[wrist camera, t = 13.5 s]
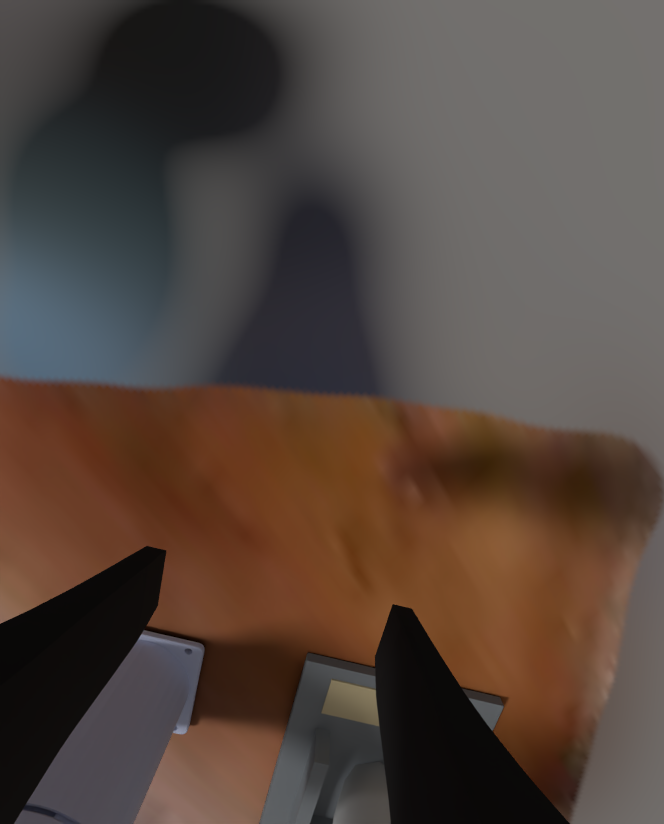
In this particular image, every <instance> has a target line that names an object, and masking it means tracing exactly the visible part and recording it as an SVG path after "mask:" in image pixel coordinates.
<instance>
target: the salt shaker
mask: <svg viewBox="0 0 664 824" xmlns="http://www.w3.org/2000/svg"><path fill="white" fill-rule="evenodd" d="M333 824H391V820H390V809H389V799H388V791H387V783H386V775H385V767H384V764H382V763H381V762H374V763H366V764H358V765H355V766H354V768H353V769H352V770H351V772H350V773H349V775H348V776H347V778H346V779H345V780H344V783H343V786H342V790H341V793H340V796H339V800H338V803H337V806H336V810H335V813H334V817H333Z"/></svg>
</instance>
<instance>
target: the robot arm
mask: <svg viewBox="0 0 664 824" xmlns="http://www.w3.org/2000/svg"><path fill="white" fill-rule="evenodd" d="M165 556H166V550H162V549H157V548H153V547H149V546H146V547H144V548H143V549H141V550H139V551H137V552H135V553H134V554H132V555H130V556H128V557H127V558H125V559H123V560H121V561H120V562H118V563H116V564H115V565H113V566H111V567H109V568H108V569H106V570H104V571H102V572H101V573H99V574H97V575H95V576H93V577H92V578H90V579H88V580H86V581H84V582H83V583H81V584H79V585H77V586H75V587H74V588H72V589H70V590H68V591H66V592H64V593H62V594H60V595H58V596H56V597H54V598H52V599H50V600H48V601H47V602H45V603H43V604H41V605H39V606H37V607H35V608H33V609H31V610H29V611H27V612H25V613H23V614H20V615H18V616H16V617H14V618H12V619H10V620H8V621H5V622H3V623H1V624H0V824H133V823H134V821H135V819H136V816H137V814H138V812H139V810H140V807H141V805H142V803H143V800H144V798H145V796H146V793H147V791H148V789H149V786H150V784H151V782H152V779H153V777H154V775H155V773H156V770H157V768H158V766H159V763H160V761H161V759H162V756H163V754H164V752H165V749H166V747H167V745H168V742H169V740H170V738H171V736H172V733H177V734H185V733H186V732H187V731H188V728H189V726H190V721H191V716H192V711H193V706H194V701H195V696H196V691H197V686H198V681H199V676H200V671H201V666H202V661H203V656H204V651H205V648H204V646H203V645H202V644H201V643H198V642H193V641H189V640H185V639H180V638H176V637H172V636H167V635H163V634H159V633H154V632H150V631H146V630H144V629H145V627H146V625H147V624H148V622H149V620H150V618H151V617H152V615H153V613H154V611H155V610H156V608H157V606H158V600H159V594H160V588H161V581H162V575H163V569H164V562H165ZM188 648H189V649H188ZM375 682H376V701H377V710H378V718H379V727H380V735H381V743H382V751H383V759H384V767H385V775H386V783H387V791H388V799H389V809H390V820H391V824H570V823H569V822H568V821H567V820H566V819H565V818H564V817H563V816H562V815H561V813H560V812H559V811H558V810H557V809H556V808H555V807H554V805H553V804H552V803H551V802H550V801H549V800H548V799H547V797H546V796H545V795H544V794H543V793H542V792H541V791H540V789H539V788H538V787H537V786H536V785H535V784H534V782H533V781H532V780H531V779H530V778H529V777H528V775H527V774H526V773H525V772H524V771H523V769H522V768H521V767H520V766H519V764H518V763H517V762H516V761H515V759H514V758H513V757H512V756H511V754H510V753H509V752H508V751H507V749H506V748H505V747H504V746H503V744H502V743H501V742H500V740H499V739H498V738H497V737H496V735H495V734H494V733H493V731H492V730H491V729H490V727H489V726H488V725H487V723H486V722H485V721H484V719H483V718H482V717H481V715H480V714H479V712H478V711H477V710H476V708H475V707H474V705H473V704H472V702H471V701H470V700H469V698H468V697H467V695H466V694H465V692H464V691H463V689H462V688H461V687H460V685H459V684H458V682H457V681H456V679H455V678H454V676H453V675H452V673H451V671H450V670H449V668H448V667H447V665H446V664H445V662H444V661H443V659H442V657H441V656H440V654H439V653H438V651H437V649H436V648H435V646H434V644H433V643H432V641H431V640H430V638H429V636H428V635H427V633H426V631H425V630H424V628H423V626H422V625H421V623H420V621H419V620H418V618H417V616H416V615H415V613H414V612H413V610H412V609H411V608H406V607H402V606H398V605H394V604H393V605H392V608H391V611H390V614H389V617H388V620H387V623H386V626H385V629H384V632H383V635H382V638H381V641H380V644H379V647H378V649H377V652H376V655H375Z"/></svg>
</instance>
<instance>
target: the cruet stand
mask: <svg viewBox="0 0 664 824" xmlns="http://www.w3.org/2000/svg"><path fill="white" fill-rule="evenodd" d="M462 689H463V688H462ZM463 691H464V692H465V694H466V695H467V697H468V698H469V700H470V701H471V702H472V704H473V705H474V707H475V708H476V710H477V711H478V712H479V714H480V715H481V717H482V718H483V719H484V721H485V722H486V723H487V725H488V726H489V727H490V729H491V730H492V731H493V729H494V727H495V725H496V723H497V720H498V718H499V716H500V714H501V712H502V709H503V707H504V705H503V703H502V701H501V698H500V697H497V696H493V695H488V694H484V693H480V692H476V691H471V690H467V689H463ZM374 762H381V763H382V764H384V759H383V751H382V743H381V735H380V727H379V718H378V710H377V701H376V682H375V668H372V667H368V666H364V665H359V664H355V663H351V662H346V661H342V660H338V659H333V658H329V657H325V656H321V655H316V654H312V653H307V657H306V660H305V664H304V667H303V671H302V674H301V678H300V681H299V685H298V688H297V692H296V695H295V699H294V702H293V706H292V709H291V713H290V717H289V720H288V724H287V727H286V731H285V734H284V738H283V741H282V745H281V748H280V752H279V755H278V759H277V762H276V766H275V769H274V773H273V776H272V780H271V784H270V787H269V791H268V794H267V798H266V801H265V805H264V808H263V812H262V815H261V819H260V822H259V824H333V817H334V813H335V810H336V806H337V803H338V800H339V796H340V793H341V790H342V786H343V783H344V780H345V779H346V778H347V776H348V775H349V773H350V772H351V770H352V769H353V768H354V766H355V765H358V764H366V763H374Z"/></svg>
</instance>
